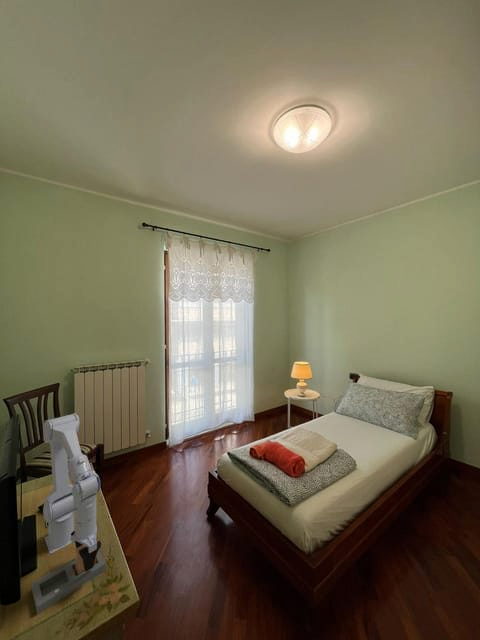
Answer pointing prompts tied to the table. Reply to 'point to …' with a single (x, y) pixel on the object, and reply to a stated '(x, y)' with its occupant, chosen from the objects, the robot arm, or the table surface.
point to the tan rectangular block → (79, 561)
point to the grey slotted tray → (62, 583)
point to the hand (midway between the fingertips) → (85, 560)
